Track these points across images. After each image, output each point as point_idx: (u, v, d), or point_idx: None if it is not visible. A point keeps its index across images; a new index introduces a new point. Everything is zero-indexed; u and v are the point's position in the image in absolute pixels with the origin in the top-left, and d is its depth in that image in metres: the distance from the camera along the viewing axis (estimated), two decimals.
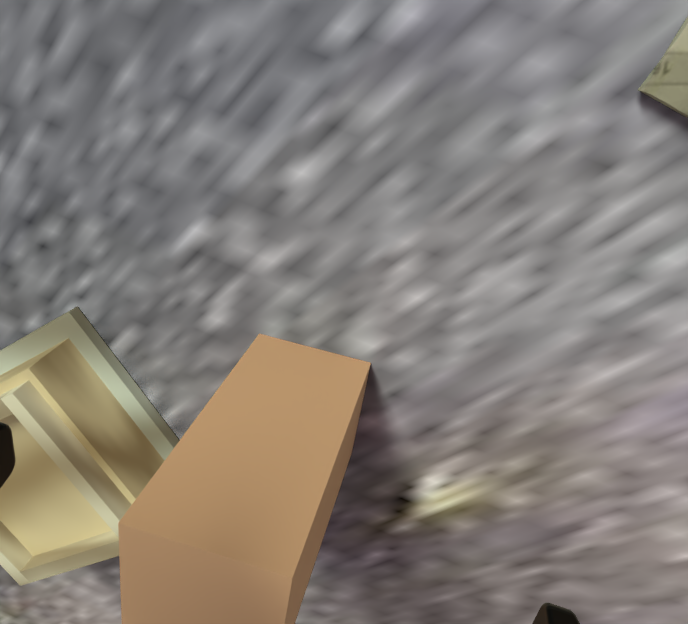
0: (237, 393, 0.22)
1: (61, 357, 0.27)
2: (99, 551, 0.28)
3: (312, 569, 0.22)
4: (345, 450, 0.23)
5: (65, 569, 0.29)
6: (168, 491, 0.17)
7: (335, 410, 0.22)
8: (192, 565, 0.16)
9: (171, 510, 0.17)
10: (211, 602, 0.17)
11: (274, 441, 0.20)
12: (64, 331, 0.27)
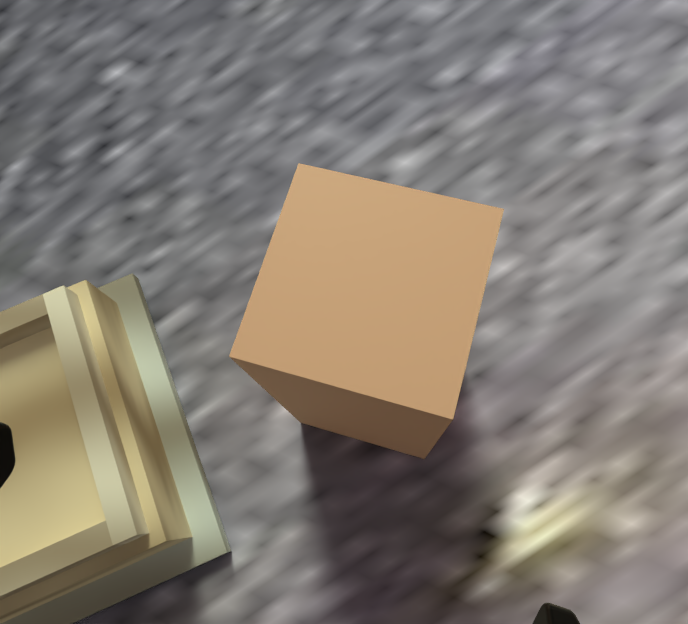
0: None
1: (109, 305, 0.24)
2: (57, 551, 0.19)
3: None
4: None
5: None
6: None
7: None
8: (378, 211, 0.14)
9: None
10: (389, 267, 0.13)
11: None
12: (116, 294, 0.25)
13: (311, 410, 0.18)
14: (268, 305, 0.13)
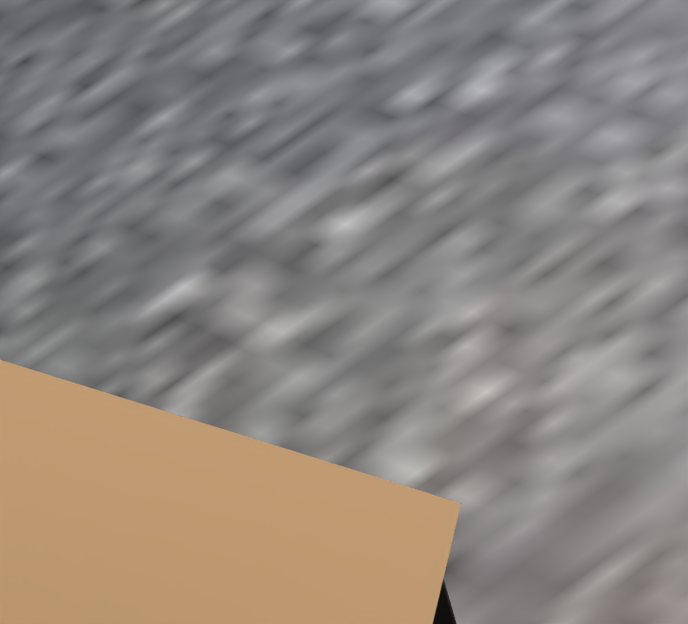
0: None
1: None
2: None
3: None
4: None
5: None
6: None
7: None
8: (143, 493, 0.05)
9: None
10: None
11: None
12: None
13: None
14: None
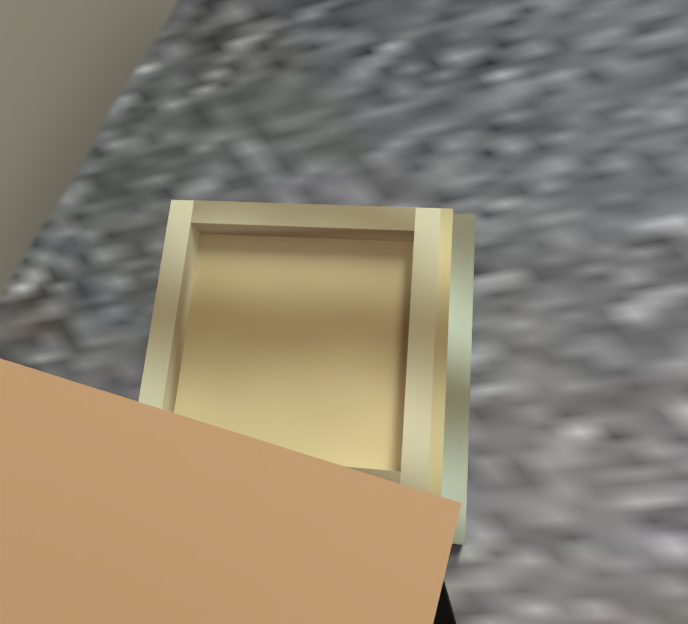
0: None
1: None
2: None
3: None
4: None
5: None
6: None
7: None
8: (147, 493, 0.06)
9: None
10: None
11: None
12: None
13: None
14: None
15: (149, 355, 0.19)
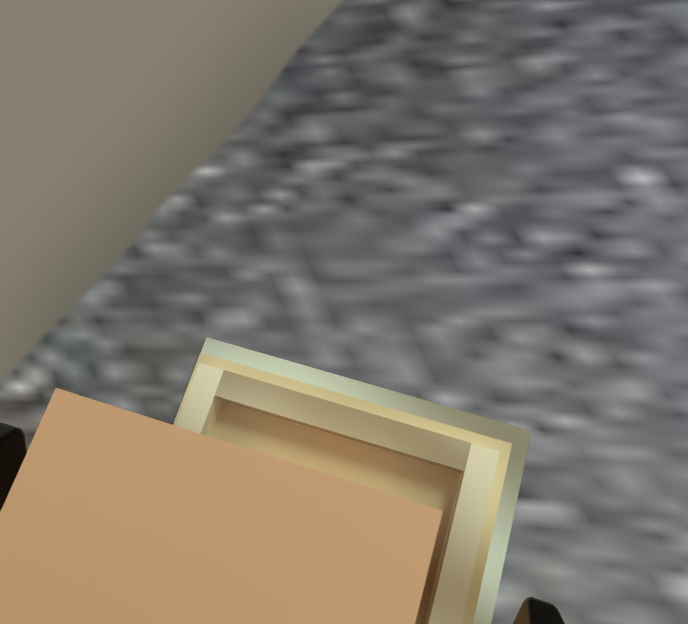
0: None
1: None
2: None
3: None
4: None
5: None
6: None
7: None
8: (195, 501, 0.07)
9: None
10: None
11: None
12: None
13: None
14: None
15: None
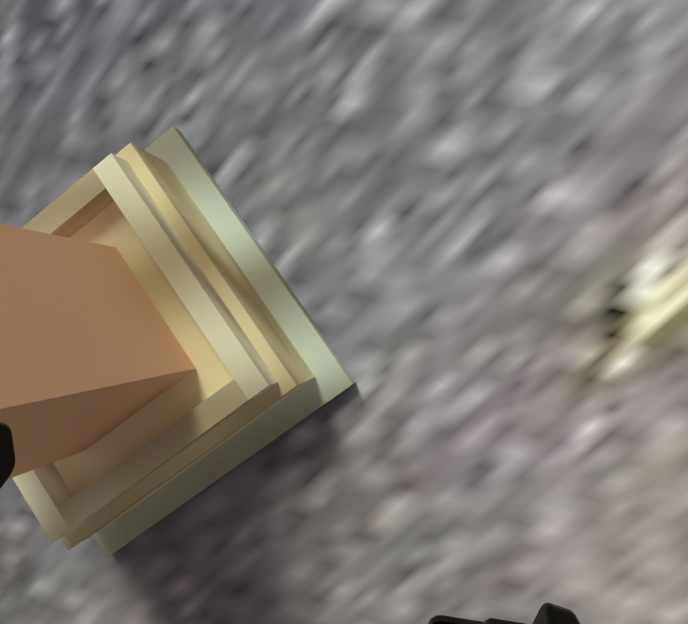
0: None
1: (161, 166, 0.22)
2: (197, 416, 0.19)
3: (67, 392, 0.13)
4: (87, 291, 0.17)
5: (135, 476, 0.19)
6: None
7: None
8: None
9: None
10: None
11: None
12: (163, 154, 0.23)
13: None
14: None
15: None
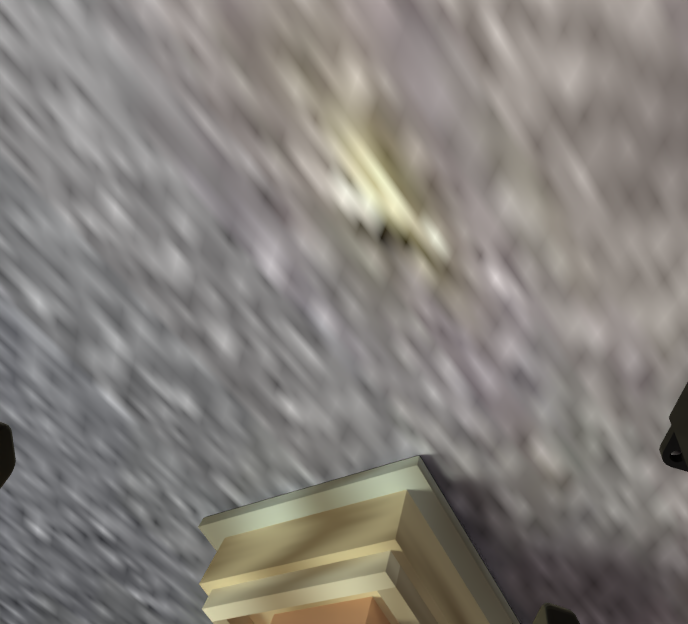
0: None
1: (223, 552, 0.28)
2: (404, 620, 0.23)
3: None
4: None
5: None
6: None
7: None
8: None
9: None
10: None
11: None
12: (218, 538, 0.29)
13: None
14: None
15: None
